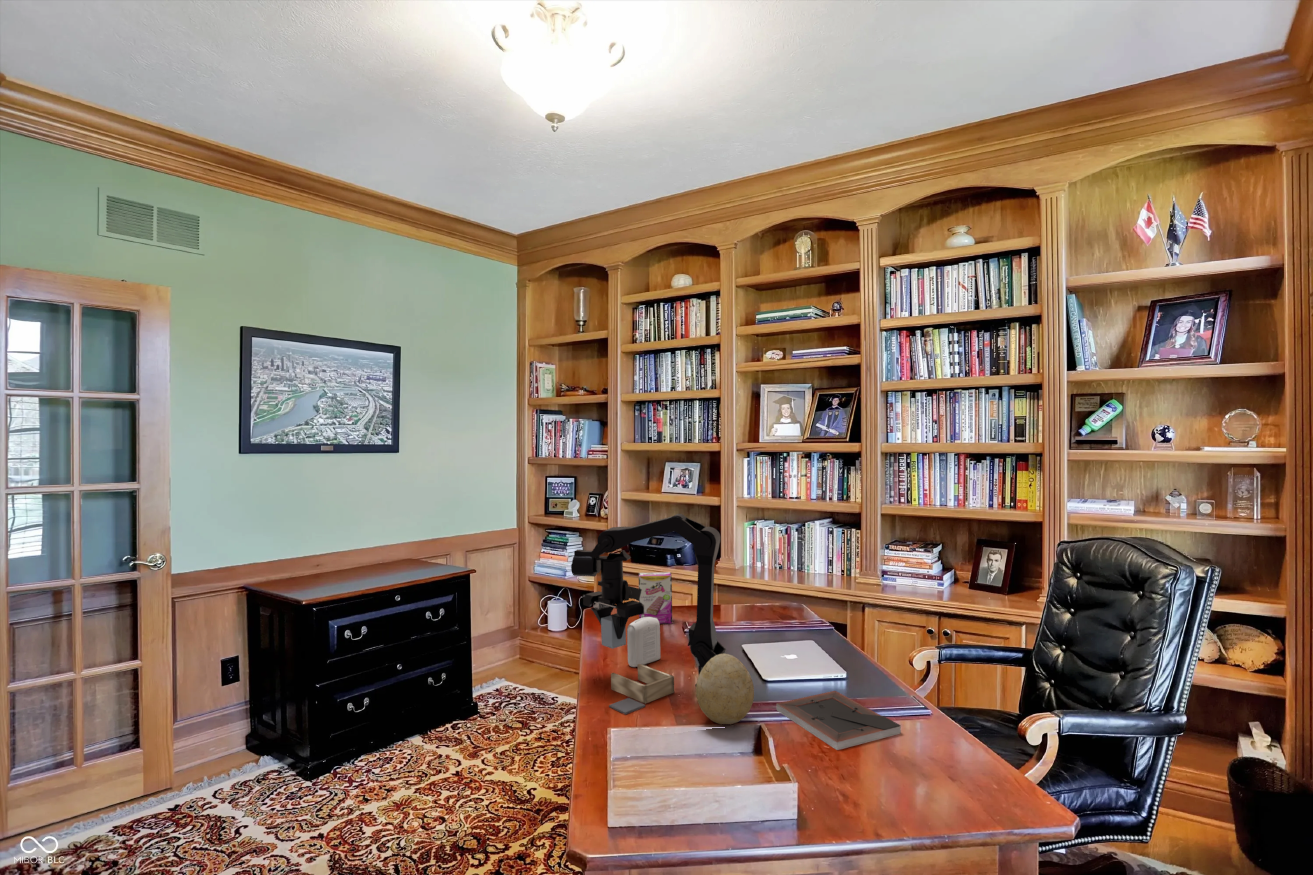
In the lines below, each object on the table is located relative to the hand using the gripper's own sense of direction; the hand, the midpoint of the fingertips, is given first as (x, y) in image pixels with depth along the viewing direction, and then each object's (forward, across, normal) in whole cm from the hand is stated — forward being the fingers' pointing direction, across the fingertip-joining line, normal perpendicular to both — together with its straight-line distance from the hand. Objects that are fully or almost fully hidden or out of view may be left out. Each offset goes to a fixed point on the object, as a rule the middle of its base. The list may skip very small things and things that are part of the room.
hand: (613, 636), depth 179 cm
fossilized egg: (+11, -38, -1) cm, 39 cm away
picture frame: (+12, -55, -18) cm, 59 cm away
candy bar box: (+11, +30, -42) cm, 53 cm away
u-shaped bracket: (+11, -11, 0) cm, 15 cm away
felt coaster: (+11, -16, +9) cm, 21 cm away
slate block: (+2, 0, 0) cm, 2 cm away
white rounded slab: (+12, +4, -14) cm, 19 cm away
